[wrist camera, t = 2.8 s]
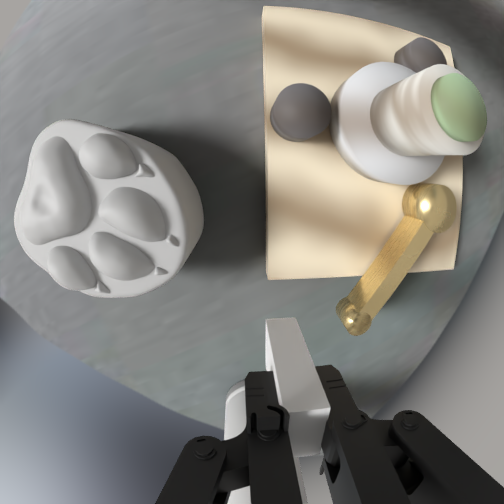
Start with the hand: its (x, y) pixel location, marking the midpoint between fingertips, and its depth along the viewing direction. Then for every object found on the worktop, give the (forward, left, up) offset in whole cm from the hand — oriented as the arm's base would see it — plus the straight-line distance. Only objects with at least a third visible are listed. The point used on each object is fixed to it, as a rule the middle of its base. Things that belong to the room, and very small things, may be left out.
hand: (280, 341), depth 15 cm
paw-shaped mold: (-6, -11, -10) cm, 16 cm away
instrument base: (-11, +9, -10) cm, 18 cm away
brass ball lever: (-2, +10, -8) cm, 13 cm away
